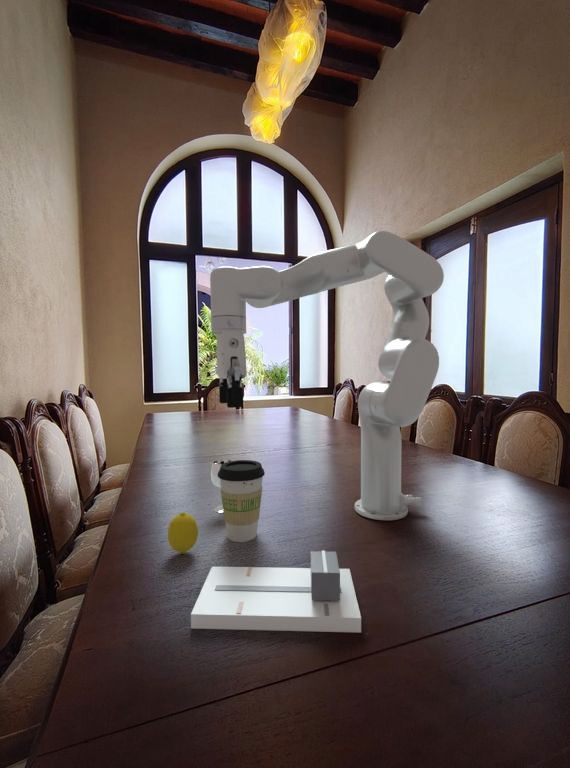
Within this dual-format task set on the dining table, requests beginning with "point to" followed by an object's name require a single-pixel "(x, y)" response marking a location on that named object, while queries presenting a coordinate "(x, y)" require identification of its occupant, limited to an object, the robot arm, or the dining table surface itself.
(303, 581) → the fader board
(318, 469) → the dining table surface
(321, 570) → the fader
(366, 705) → the dining table surface
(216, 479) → the wineglass
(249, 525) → the coffee cup
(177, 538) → the lemon
